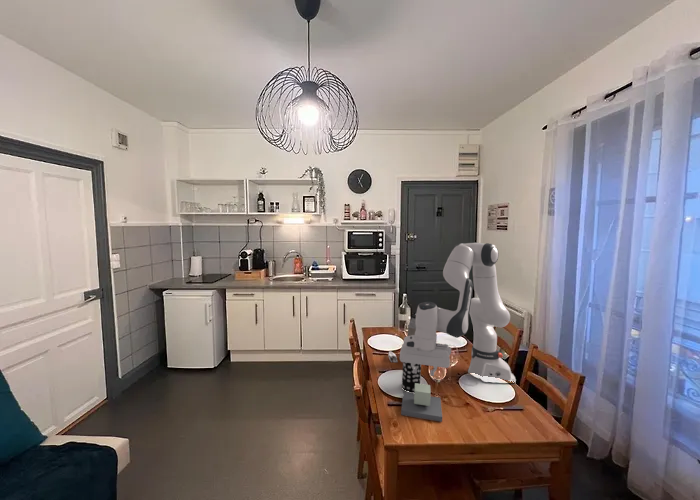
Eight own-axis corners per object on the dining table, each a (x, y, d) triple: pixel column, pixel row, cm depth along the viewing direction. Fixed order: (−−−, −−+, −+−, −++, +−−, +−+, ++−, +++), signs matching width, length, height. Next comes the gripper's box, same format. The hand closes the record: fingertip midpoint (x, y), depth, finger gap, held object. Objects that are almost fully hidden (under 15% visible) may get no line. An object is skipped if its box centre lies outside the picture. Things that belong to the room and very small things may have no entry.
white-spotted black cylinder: (399, 389, 146) (401, 348, 144) (404, 382, 154) (407, 342, 152) (416, 395, 142) (419, 352, 141) (421, 386, 150) (424, 346, 148)
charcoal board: (440, 402, 137) (440, 397, 137) (442, 421, 124) (442, 417, 124) (403, 396, 141) (403, 392, 141) (401, 414, 127) (401, 410, 127)
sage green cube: (429, 397, 134) (430, 385, 134) (429, 406, 128) (430, 393, 128) (414, 395, 136) (414, 383, 135) (413, 403, 130) (414, 391, 129)
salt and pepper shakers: (410, 364, 174) (408, 356, 185) (410, 357, 173) (408, 349, 184) (388, 362, 175) (387, 354, 186) (388, 355, 174) (388, 347, 185)
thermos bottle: (419, 362, 175) (422, 313, 173) (422, 369, 167) (425, 318, 165) (405, 362, 175) (407, 313, 173) (407, 368, 168) (410, 317, 165)
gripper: (450, 342, 130) (448, 374, 132) (401, 336, 135) (399, 367, 136) (452, 348, 124) (450, 381, 126) (400, 341, 129) (398, 374, 130)
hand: (423, 374), depth 131 cm, fingers open, 5 cm apart
